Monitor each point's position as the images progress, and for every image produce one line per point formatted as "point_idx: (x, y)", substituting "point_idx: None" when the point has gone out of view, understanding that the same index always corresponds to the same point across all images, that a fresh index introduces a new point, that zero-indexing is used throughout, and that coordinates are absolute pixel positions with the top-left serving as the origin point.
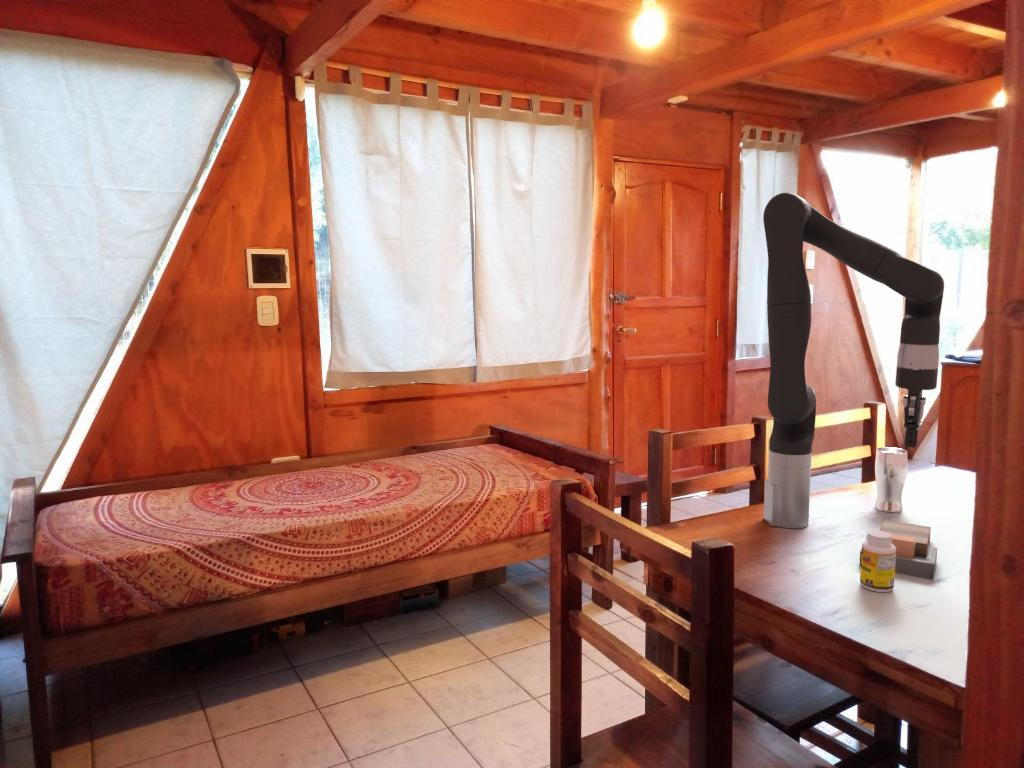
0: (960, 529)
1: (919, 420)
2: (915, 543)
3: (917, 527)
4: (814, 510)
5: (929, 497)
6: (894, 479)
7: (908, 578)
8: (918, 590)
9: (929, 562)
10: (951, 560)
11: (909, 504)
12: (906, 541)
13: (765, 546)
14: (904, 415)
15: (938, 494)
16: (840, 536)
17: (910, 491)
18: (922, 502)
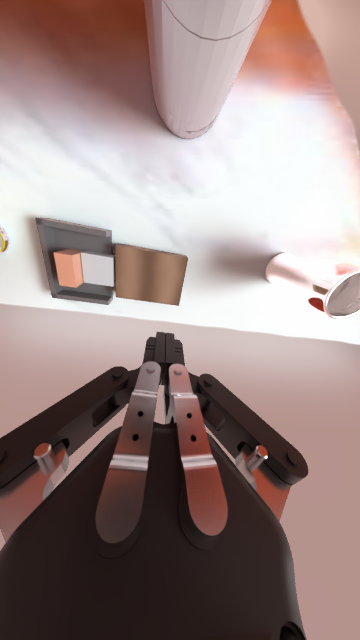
0: (221, 326)
1: (164, 413)
2: (112, 286)
3: (171, 293)
4: (267, 154)
5: None
6: (291, 284)
7: None
8: (20, 276)
9: (54, 293)
10: (126, 311)
11: None
12: (58, 277)
13: (26, 27)
14: (129, 403)
15: (335, 321)
16: (151, 197)
17: None
18: None
